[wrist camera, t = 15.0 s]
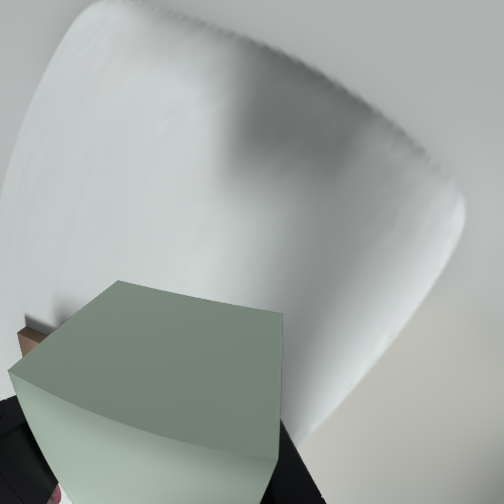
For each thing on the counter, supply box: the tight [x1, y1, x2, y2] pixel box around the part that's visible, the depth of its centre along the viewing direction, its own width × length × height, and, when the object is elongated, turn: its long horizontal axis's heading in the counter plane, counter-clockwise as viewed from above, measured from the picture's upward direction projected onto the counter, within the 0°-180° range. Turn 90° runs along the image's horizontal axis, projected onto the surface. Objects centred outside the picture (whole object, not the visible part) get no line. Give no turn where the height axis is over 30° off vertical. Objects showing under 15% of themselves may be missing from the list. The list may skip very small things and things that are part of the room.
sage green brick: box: [8, 280, 283, 504], centre depth 7 cm, size 5×6×5 cm
